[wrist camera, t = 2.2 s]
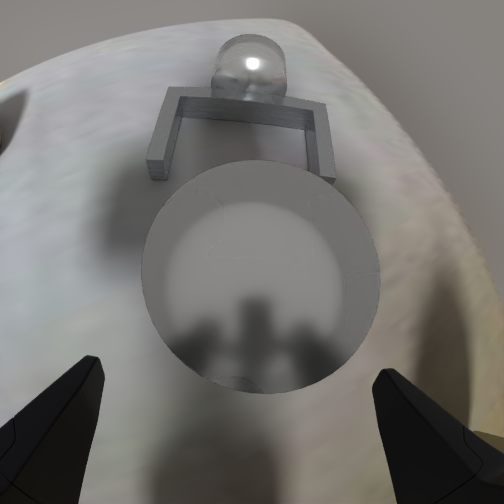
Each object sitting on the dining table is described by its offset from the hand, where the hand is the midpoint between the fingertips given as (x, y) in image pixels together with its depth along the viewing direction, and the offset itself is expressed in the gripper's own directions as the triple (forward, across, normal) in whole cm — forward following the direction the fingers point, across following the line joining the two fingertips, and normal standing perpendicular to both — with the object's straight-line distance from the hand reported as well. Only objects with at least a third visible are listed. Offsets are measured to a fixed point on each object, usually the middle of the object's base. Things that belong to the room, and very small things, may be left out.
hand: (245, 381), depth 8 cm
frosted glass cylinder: (+9, 0, +5) cm, 10 cm away
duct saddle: (+20, 0, -6) cm, 21 cm away
